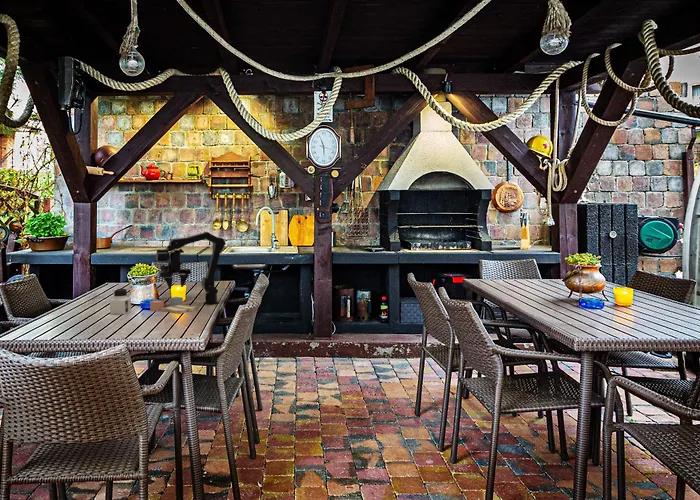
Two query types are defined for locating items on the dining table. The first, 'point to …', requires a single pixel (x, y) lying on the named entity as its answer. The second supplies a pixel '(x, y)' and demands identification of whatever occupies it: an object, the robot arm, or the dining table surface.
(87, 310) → the dining table surface
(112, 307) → the container
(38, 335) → the dining table surface
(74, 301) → the dining table surface
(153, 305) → the terracotta block
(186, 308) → the birch base
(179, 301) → the gray block
